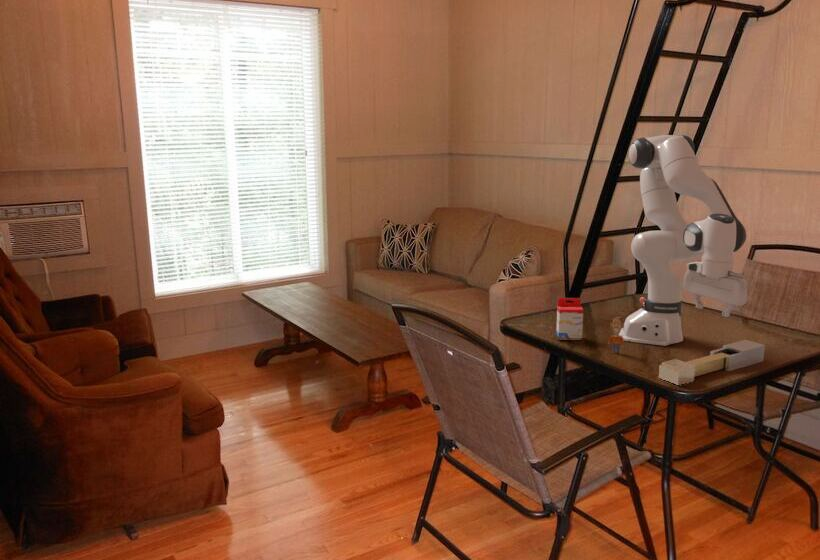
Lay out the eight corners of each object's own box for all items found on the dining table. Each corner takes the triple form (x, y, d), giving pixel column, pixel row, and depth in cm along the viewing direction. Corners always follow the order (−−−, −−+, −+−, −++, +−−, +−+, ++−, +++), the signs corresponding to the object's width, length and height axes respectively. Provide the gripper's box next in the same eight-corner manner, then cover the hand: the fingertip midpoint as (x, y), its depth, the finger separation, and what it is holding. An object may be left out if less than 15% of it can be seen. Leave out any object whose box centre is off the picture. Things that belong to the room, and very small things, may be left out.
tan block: (719, 363, 212) (720, 352, 212) (730, 366, 209) (731, 355, 208) (672, 376, 202) (673, 364, 201) (682, 380, 199) (683, 368, 198)
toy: (606, 352, 226) (608, 316, 223) (609, 350, 228) (610, 314, 225) (622, 355, 223) (624, 318, 220) (624, 352, 225) (626, 316, 223)
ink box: (558, 341, 239) (559, 301, 236) (555, 336, 244) (557, 297, 240) (582, 340, 239) (584, 301, 235) (579, 336, 243) (581, 297, 240)
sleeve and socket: (743, 355, 221) (745, 339, 219) (763, 361, 215) (765, 345, 213) (658, 378, 202) (659, 361, 200) (677, 386, 196) (679, 368, 194)
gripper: (754, 274, 195) (749, 319, 198) (695, 260, 212) (692, 302, 216) (740, 277, 192) (735, 323, 195) (682, 263, 209) (678, 305, 213)
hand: (712, 312), depth 205 cm, fingers open, 8 cm apart
